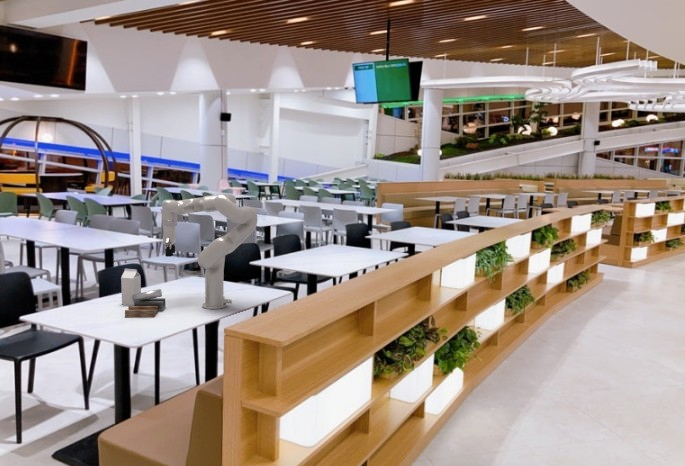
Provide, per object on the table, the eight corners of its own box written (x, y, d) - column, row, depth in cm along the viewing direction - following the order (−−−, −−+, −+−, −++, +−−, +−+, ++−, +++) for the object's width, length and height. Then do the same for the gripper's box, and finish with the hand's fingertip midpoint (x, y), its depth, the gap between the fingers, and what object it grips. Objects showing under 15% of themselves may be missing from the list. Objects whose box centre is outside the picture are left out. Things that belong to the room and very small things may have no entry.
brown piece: (157, 312, 294) (157, 306, 294) (154, 317, 287) (154, 310, 286) (129, 313, 293) (129, 306, 292) (125, 317, 285) (124, 310, 285)
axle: (162, 295, 301) (160, 288, 301) (160, 297, 297) (158, 290, 297) (135, 301, 300) (133, 293, 300) (133, 303, 296) (131, 295, 296)
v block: (165, 307, 304) (165, 298, 304) (162, 311, 297) (162, 302, 296) (138, 307, 303) (137, 298, 302) (134, 311, 295) (134, 302, 294)
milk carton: (134, 306, 305) (133, 270, 302) (121, 305, 307) (120, 270, 304) (141, 302, 312) (140, 268, 309) (129, 301, 313) (128, 267, 311)
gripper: (165, 220, 316) (166, 251, 319) (159, 225, 299) (159, 257, 302) (179, 221, 317) (180, 251, 319) (174, 225, 300) (174, 257, 302)
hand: (170, 254), depth 311 cm, fingers open, 9 cm apart
